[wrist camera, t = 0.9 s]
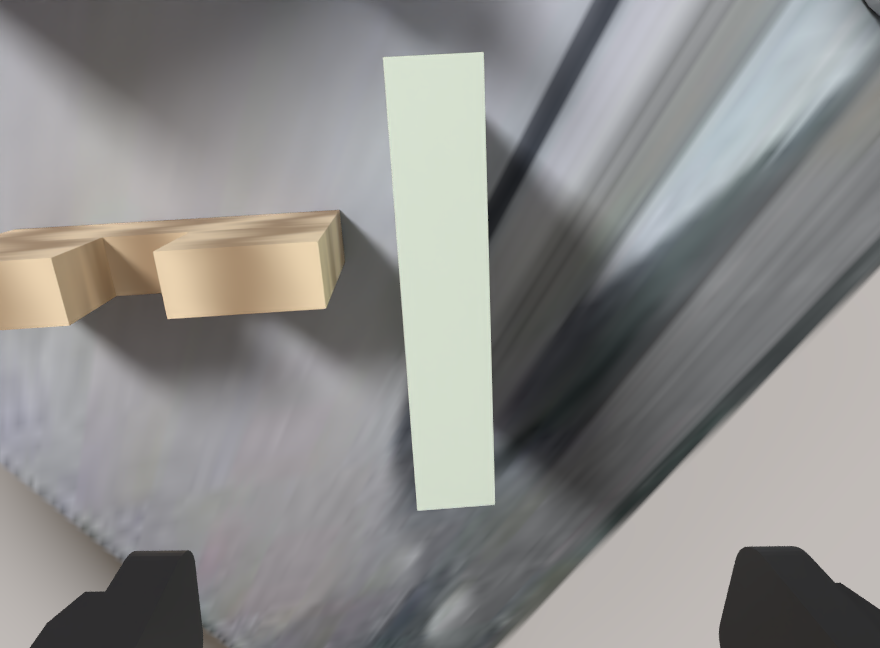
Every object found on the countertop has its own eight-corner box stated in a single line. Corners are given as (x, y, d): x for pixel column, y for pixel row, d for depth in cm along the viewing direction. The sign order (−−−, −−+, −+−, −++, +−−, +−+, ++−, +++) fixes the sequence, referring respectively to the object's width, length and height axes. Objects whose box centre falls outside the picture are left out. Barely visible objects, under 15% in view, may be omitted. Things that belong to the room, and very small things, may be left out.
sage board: (448, 80, 32) (483, 51, 18) (460, 357, 37) (494, 504, 23) (392, 83, 32) (382, 57, 18) (412, 360, 37) (417, 510, 23)
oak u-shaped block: (339, 209, 34) (317, 241, 25) (345, 261, 35) (325, 308, 26) (14, 229, 33) (-120, 268, 25) (29, 281, 34) (-95, 336, 26)
